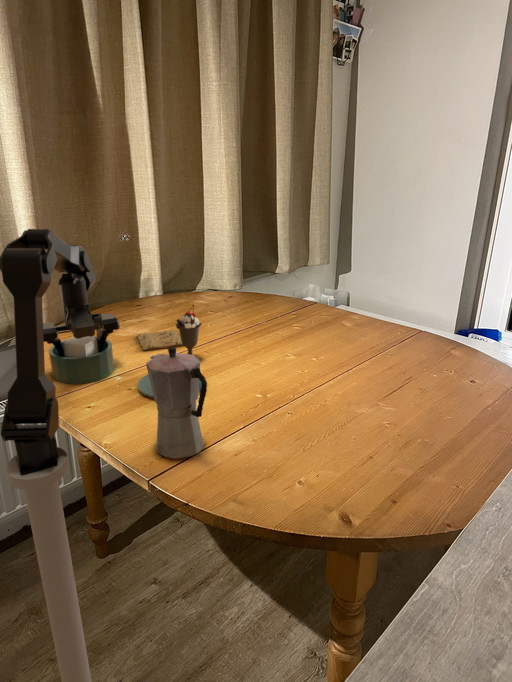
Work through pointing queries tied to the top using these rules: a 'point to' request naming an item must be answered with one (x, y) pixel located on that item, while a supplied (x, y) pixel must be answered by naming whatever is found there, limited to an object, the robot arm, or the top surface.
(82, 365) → the pot
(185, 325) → the sundae
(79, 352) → the product box
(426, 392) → the top surface
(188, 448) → the moka pot
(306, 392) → the top surface
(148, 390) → the lid
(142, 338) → the cookie
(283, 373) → the top surface
